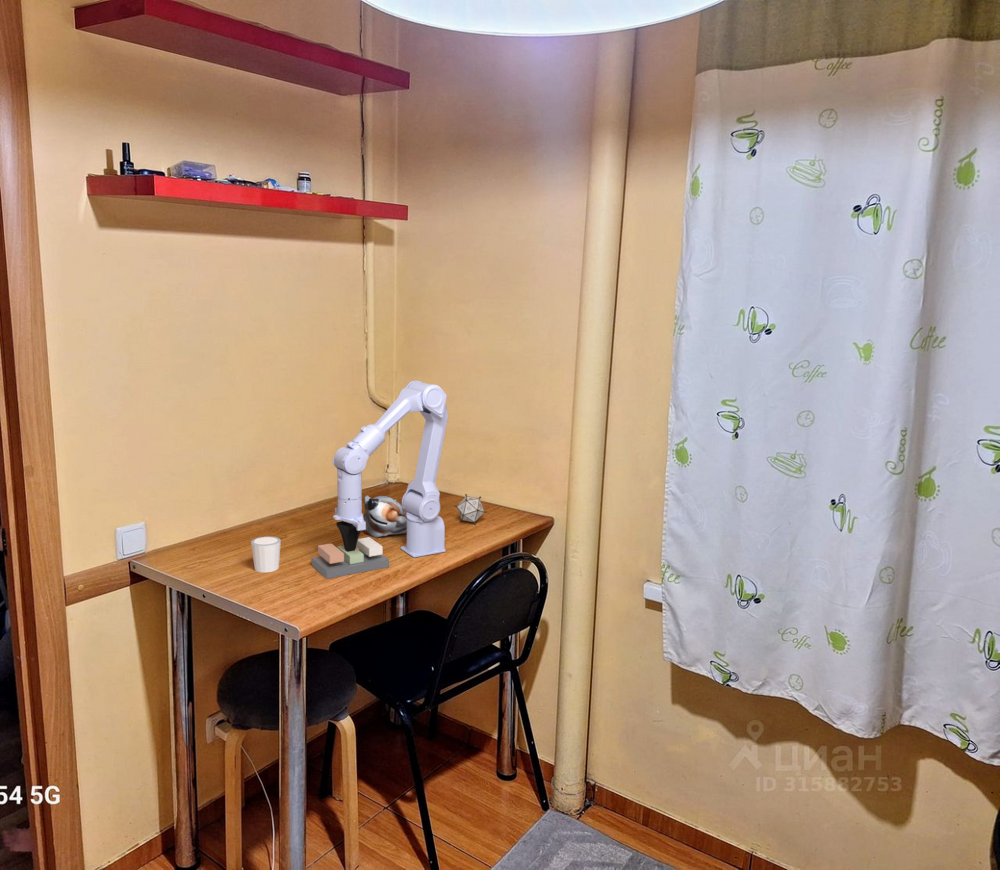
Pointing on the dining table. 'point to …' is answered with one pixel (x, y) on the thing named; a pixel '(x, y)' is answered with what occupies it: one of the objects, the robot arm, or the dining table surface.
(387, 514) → the lucky cat figurine
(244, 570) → the dining table surface
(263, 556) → the shot glass
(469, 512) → the game die
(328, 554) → the terracotta button
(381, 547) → the off-white button
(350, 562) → the sage button
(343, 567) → the button panel
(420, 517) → the robot arm
